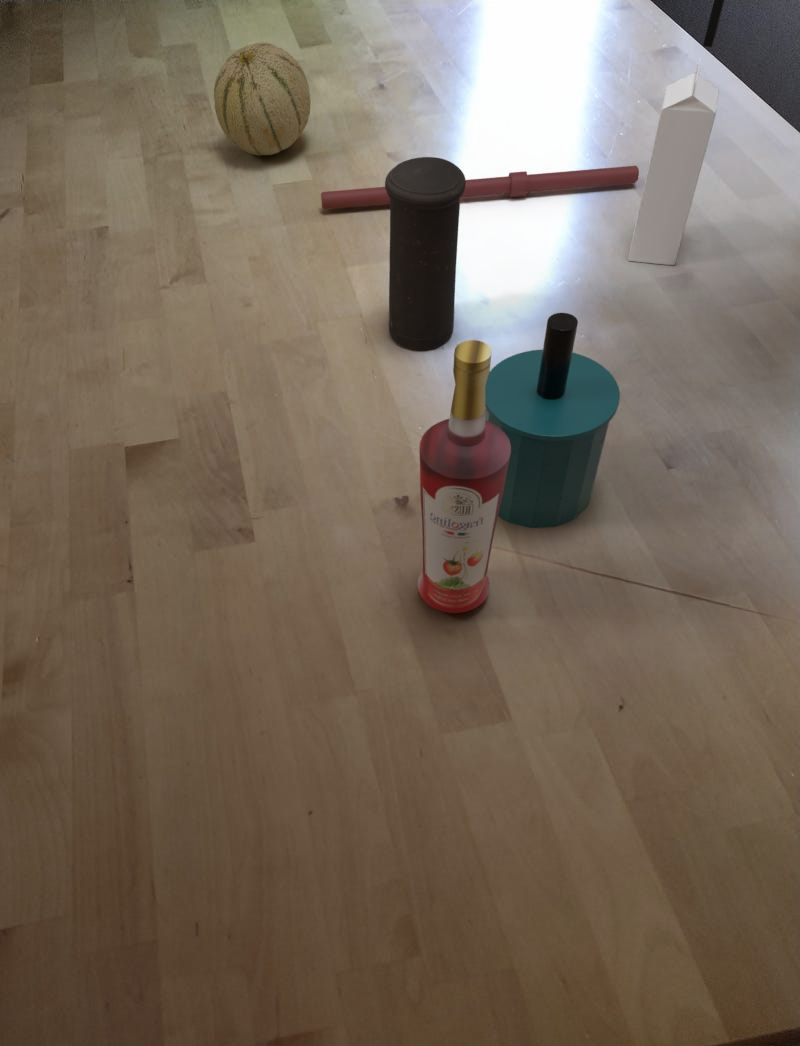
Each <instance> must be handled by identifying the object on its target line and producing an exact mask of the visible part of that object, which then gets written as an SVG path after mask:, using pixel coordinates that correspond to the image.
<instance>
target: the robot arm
mask: <svg viewBox="0 0 800 1046" xmlns="http://www.w3.org/2000/svg"><path fill="white" fill-rule="evenodd" d="M725 1H726V0H713V2H712V3H713V4H712V8H711V12H710V16H709V21H708V23H707V27H706V32H705V36H704V40H703V44H702V47H705V48H708V47H709V48H712V47H713V44H714V41H715V38H716V35H717V31H718V28H719V24H720V20H721V16H722V12H723V8H724V4H725Z"/></svg>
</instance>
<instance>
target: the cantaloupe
mask: <svg viewBox="0 0 800 1046" xmlns="http://www.w3.org/2000/svg"><path fill="white" fill-rule="evenodd" d="M308 82H309V81H308V79H307V77H306V74H305V71H304V69H303V67H302V66H301V65H300V63H299V61H298V60H296V58H295V57H294V56H293V55H291V54H290V53H289V52H288V51H287V50H285V49H283V48H282V47H279V46H276V45H274V44H272V43H269V42H255V43H251V44H247V45H243V46H242V47H240V48H239V49H237V50H235V51H234V52H232V53H231V54H230V56H229V57H228V58H227V59H226V60H225V62H223V64H222V66H220V68H219V71H218V73H217V75H216V78H215V81H214V86H213V87H214V88H213V100H214V111H215V115H216V118H217V122H218V124H219V126H220V128H221V130H222V132H223V134H224V136H225V137H226V138H227V139H228V140H229V141H230V142H231V143H232V144H233V145H234V146H235V147H237V148H239V149H241V150H242V151H244V152H245V153H248V154H250V155H254V156H272V155H276V154H278V153H280V152H282V151H285V150H287V149H288V148H290V147H291V146H292V145H293V144H294V143H295V141H296V140H298V139H299V138H300V137H301V135H302V133H303V132H304V130H305V128H306V127H307V125H308V123H309V122H308V121H309V118H310V114H311V101H312V100H311V93H310V86H309V83H308Z"/></svg>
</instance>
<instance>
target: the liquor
mask: <svg viewBox="0 0 800 1046" xmlns="http://www.w3.org/2000/svg"><path fill="white" fill-rule="evenodd" d="M491 362H492V348H491V346H490V345H489V344H487V343H486V342H484V341H482V340H477V339H476V340H475V339H471V340H465V341H462V342H460V343H459V344H457V345H456V346H455V348H454V355H453V368H452V369H453V370H452V371H453V378H454V391H453V397H452V402H451V409H450V413H449V418H447V419H443V420H441V421H439V422H436V423H435V424H433V425H432V426H430V427H429V428H428V429H427V430H425V432H424V433H423V435H422V436H421V438H420V441H419V476H420V477H419V485H420V486H419V490H420V491H419V494H420V507H421V509H420V511H421V527H422V528H421V530H422V532H421V533H422V534H421V535H422V570H421V572H420V574H419V576H418V580H417V589H418V592H419V594H420V595H419V596H420V597H421V598H422V599H423V601H424V602H425V603H426V604H428V605H429V606H430V607H432V608H434V609H435V610H438V611H441V612H444V613H450V614H460V613H465V612H470V611H471V610H473V609H476V608H477V607H479V606H480V605H482V604H483V603H484V601H486V599H487V597H488V596H489V592H490V588H491V587H490V586H491V584H490V579H489V577H488V570H489V563H490V559H491V552H492V547H493V542H494V536H495V532H496V526H497V522H498V517H499V516H498V513H499V509H500V505H501V500H502V496H503V490H504V485H505V480H506V474H507V469H508V464H509V459H510V454H511V444H510V441H509V439H508V437H507V435H506V434H505V433H504V432H503V431H502V430H501V429H500V428H499V427H497V426H496V425H495V424H492V423H490V422H488V421H486V420H485V409H486V407H485V385H486V382H487V379H488V375H489V372H490V371H491Z"/></svg>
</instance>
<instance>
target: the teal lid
mask: <svg viewBox="0 0 800 1046" xmlns="http://www.w3.org/2000/svg"><path fill="white" fill-rule="evenodd" d="M578 324H579V321H578V319H577V317H576V316H575V315H573V314H571V313H568V312H557V313H556V312H555V313H553V314H551V315H550V316H549V317H548V318H547V322H546V328H545V333H544V341H543V347H542V349H532V350H527V351H523V352H522V351H521V352H519V353H516V354H514V355H511V356H509V357H507V358H505V359H502V360H501V361H500V362H498V363H497V364H496V365H495V366H493V367H492V368H491V369H490V372H489V375H488V379H487V382H486V385H485V409H487V411H488V413H489V414H490V415H491V417H492V418H493V419H494V420H495V421H496V422H498V423H499V424H500V425H501V426H503V427H504V428H506V429H508V430H510V431H512V432H514V433H516V434H519V435H521V436H524V437H528V438H532V439H537V440H544V441H565V440H572V439H577V438H581V437H584V436H588V435H590V434H592V433H595V432H596V431H598V430H600V429H601V428H603V427H604V426H605V425H607V424H608V423H609V424H610V422H611V421H612V419H614V416H615V415H616V414H617V411H618V408H619V405H620V399H621V392H620V387H619V385H618V382H617V381H616V378H615V377H614V375H612V373H611V372H610V371H609V370H608V369H607V368H606V367H604V366H603V365H602V364H600V363H599V362H597V361H596V360H594V359H592V358H590V357H587V356H585V355H583V354H579V353H576V352H574V346H575V340H576V335H577V331H578ZM609 421H610V422H609Z"/></svg>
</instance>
